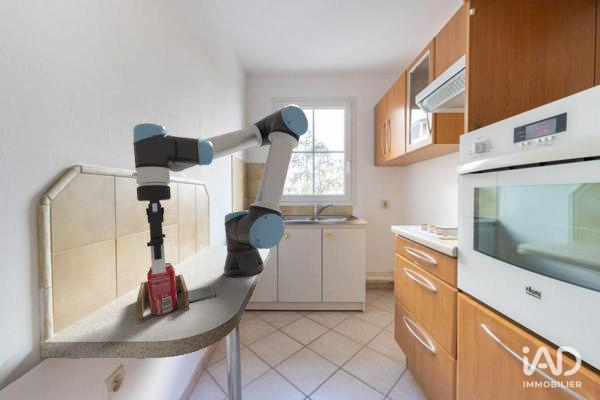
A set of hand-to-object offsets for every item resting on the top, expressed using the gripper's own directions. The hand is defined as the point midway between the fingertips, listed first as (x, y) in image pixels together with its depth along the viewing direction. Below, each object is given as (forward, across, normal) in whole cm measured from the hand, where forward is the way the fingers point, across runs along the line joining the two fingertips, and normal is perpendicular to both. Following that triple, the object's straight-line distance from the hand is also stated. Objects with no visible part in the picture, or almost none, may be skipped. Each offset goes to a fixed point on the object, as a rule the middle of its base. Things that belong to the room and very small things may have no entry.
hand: (159, 266), depth 63 cm
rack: (+12, -6, +1) cm, 13 cm away
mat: (+12, -6, +10) cm, 16 cm away
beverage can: (+12, 0, +1) cm, 12 cm away
